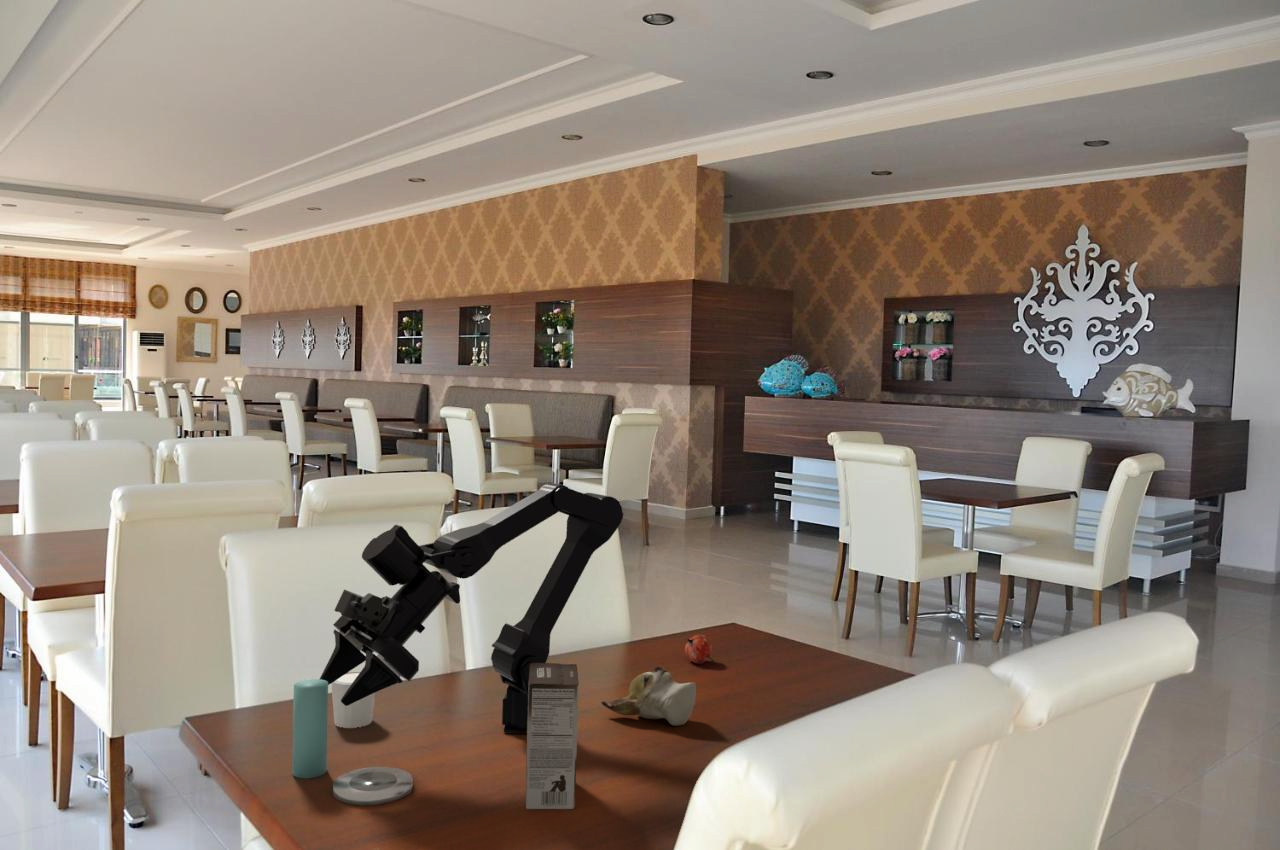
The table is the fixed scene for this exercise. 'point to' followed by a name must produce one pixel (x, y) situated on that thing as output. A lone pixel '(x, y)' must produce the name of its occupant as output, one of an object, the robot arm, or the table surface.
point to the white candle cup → (355, 712)
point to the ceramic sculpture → (657, 698)
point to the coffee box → (552, 736)
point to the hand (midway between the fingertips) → (331, 694)
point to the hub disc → (372, 785)
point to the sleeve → (310, 728)
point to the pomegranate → (698, 648)
